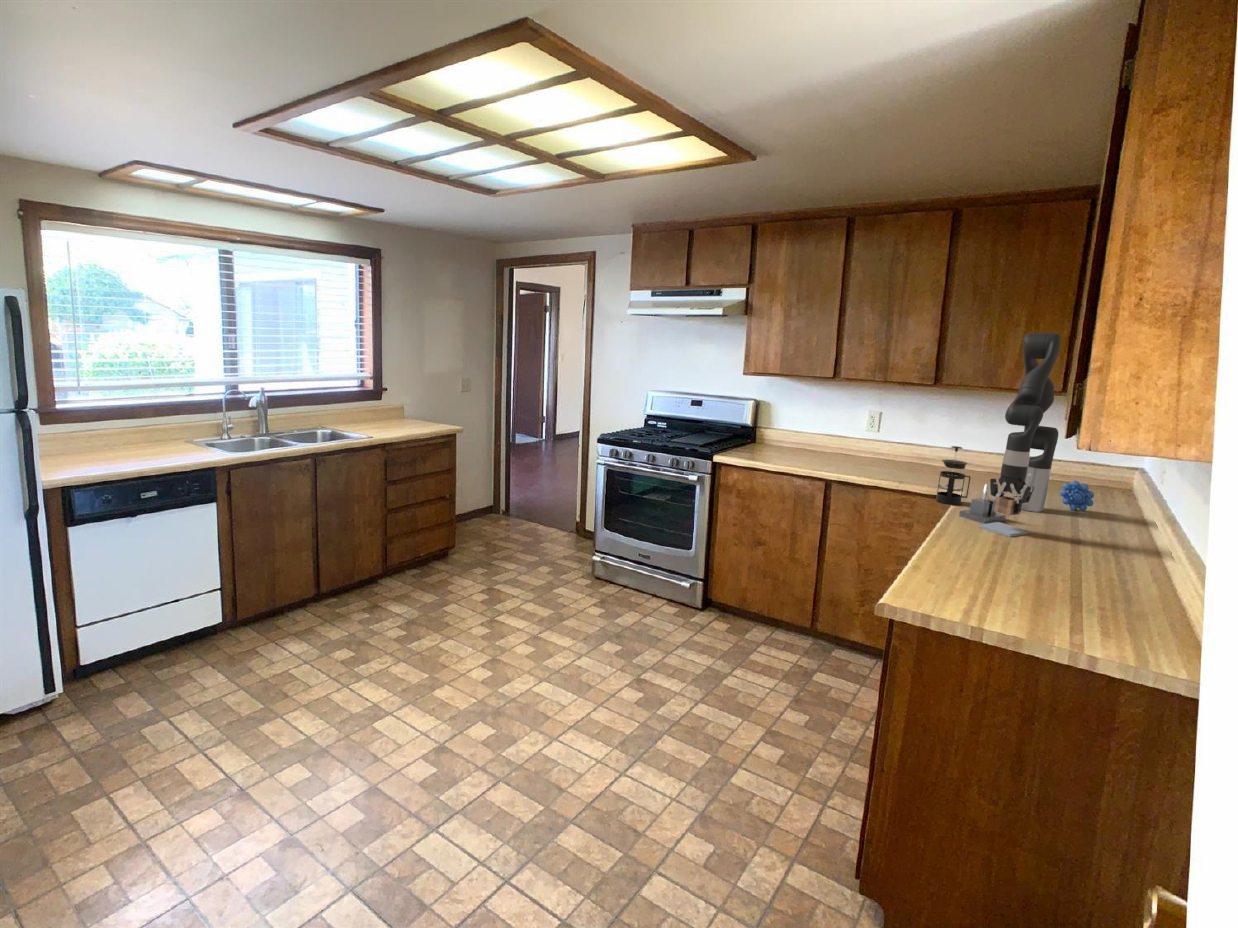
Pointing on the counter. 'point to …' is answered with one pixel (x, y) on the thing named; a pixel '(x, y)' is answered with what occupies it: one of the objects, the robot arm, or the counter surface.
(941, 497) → the french press
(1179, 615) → the counter surface
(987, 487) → the grey block-shaped fixture
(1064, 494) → the grapes
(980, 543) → the counter surface
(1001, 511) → the collar
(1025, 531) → the mat
